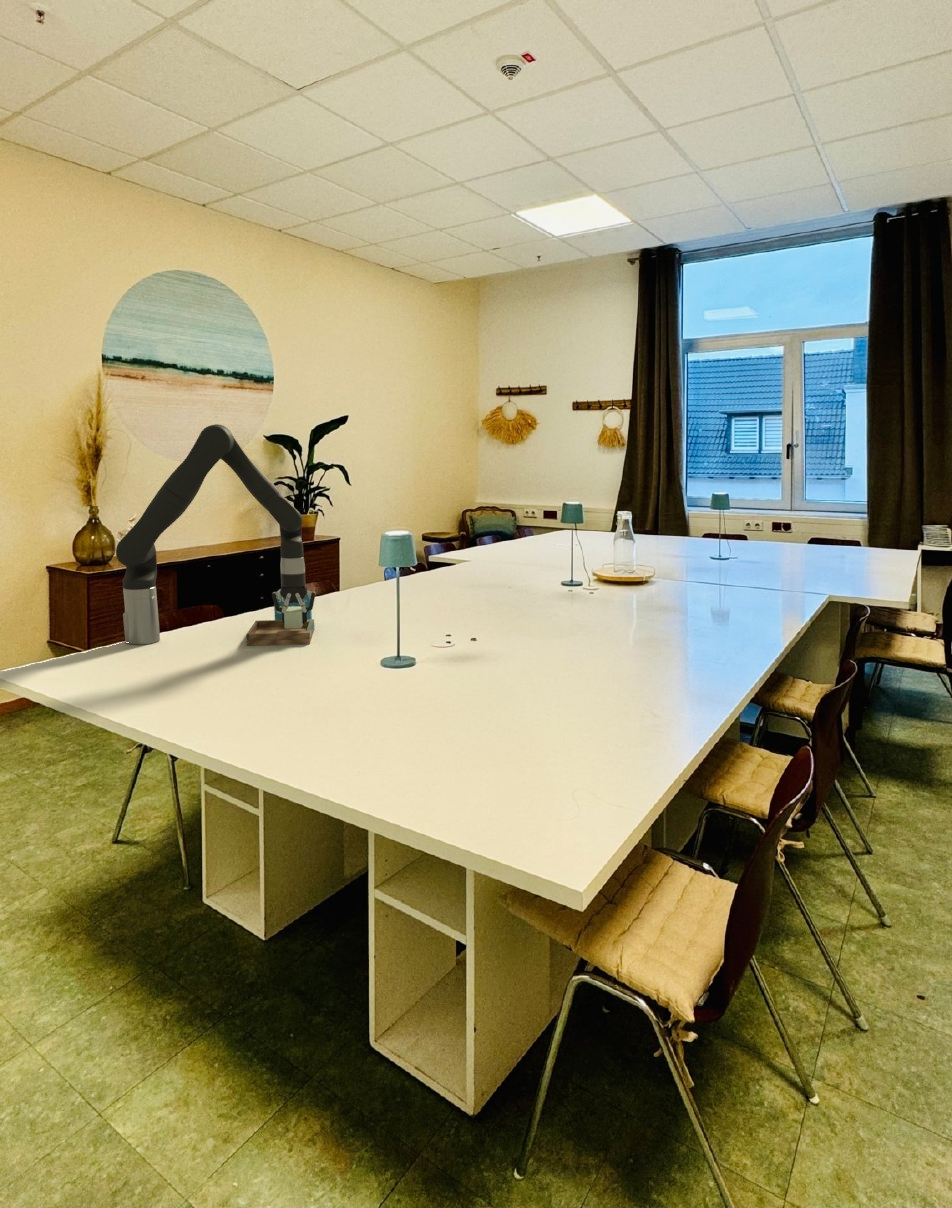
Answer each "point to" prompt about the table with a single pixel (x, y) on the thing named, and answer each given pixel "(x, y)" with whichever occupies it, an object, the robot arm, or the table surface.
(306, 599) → the data package
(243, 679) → the table surface
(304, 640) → the shallow wooden tray
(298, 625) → the panel block
